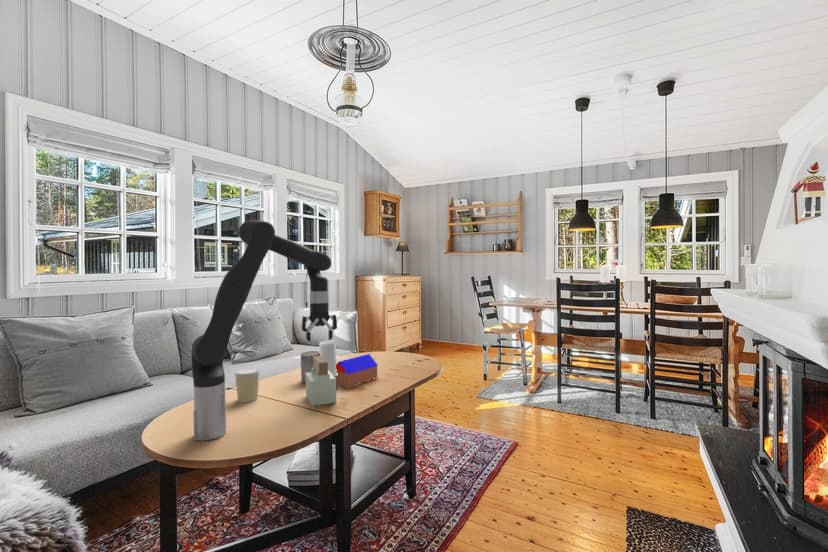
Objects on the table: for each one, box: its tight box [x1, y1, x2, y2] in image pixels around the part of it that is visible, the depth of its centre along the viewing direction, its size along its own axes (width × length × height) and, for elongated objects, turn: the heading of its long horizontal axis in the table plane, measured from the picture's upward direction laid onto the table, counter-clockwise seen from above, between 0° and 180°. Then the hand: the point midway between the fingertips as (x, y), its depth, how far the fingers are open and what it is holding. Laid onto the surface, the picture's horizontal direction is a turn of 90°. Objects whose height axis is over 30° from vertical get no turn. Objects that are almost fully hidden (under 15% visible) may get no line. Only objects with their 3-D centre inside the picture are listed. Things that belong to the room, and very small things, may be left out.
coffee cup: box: [234, 368, 260, 403], centre depth 167 cm, size 9×9×12 cm
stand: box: [305, 368, 337, 407], centre depth 165 cm, size 10×14×12 cm
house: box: [335, 353, 379, 388], centre depth 192 cm, size 12×20×12 cm, turn 142°
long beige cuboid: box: [313, 355, 329, 376], centre depth 165 cm, size 4×14×5 cm, turn 24°
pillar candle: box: [299, 350, 320, 384], centre depth 193 cm, size 10×10×15 cm
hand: (319, 340), depth 165 cm, fingers open, 8 cm apart
